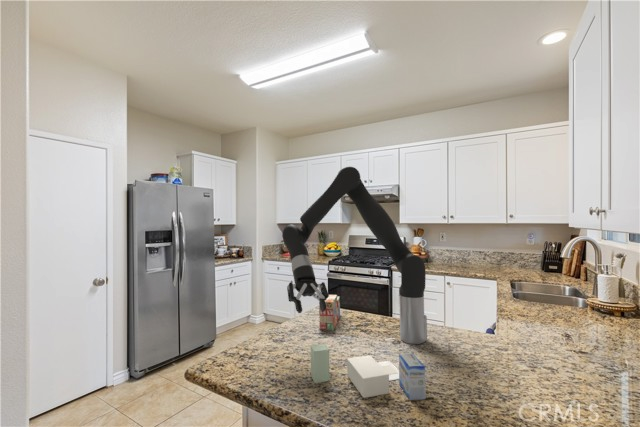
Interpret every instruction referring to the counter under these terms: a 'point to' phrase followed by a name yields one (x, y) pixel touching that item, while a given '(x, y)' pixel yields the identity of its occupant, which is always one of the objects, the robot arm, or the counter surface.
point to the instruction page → (390, 370)
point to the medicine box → (412, 376)
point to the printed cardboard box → (330, 313)
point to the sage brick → (320, 363)
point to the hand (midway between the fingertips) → (312, 311)
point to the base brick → (368, 376)
